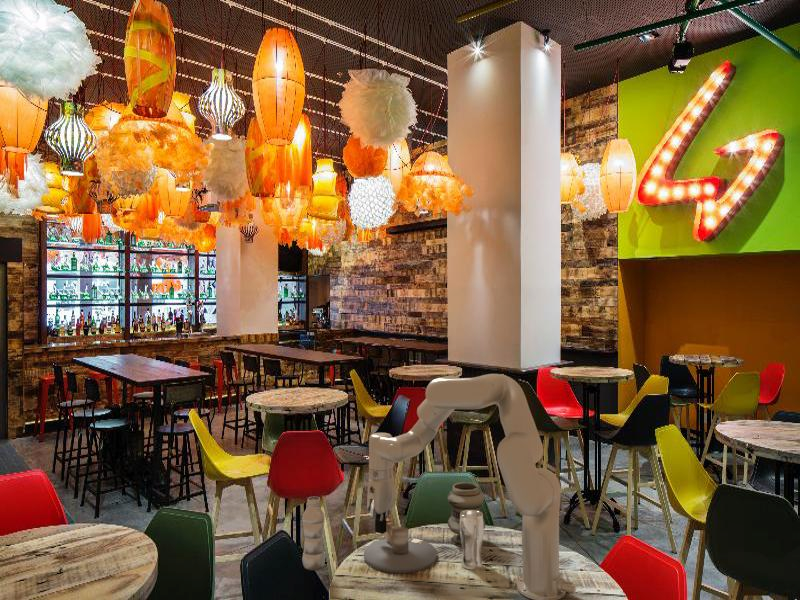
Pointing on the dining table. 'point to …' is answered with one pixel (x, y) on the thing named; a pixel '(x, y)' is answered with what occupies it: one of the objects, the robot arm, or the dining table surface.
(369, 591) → the dining table surface
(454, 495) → the apothecary jar
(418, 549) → the dial base
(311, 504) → the plastic bottle
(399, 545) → the tan knob handle
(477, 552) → the beer glass
